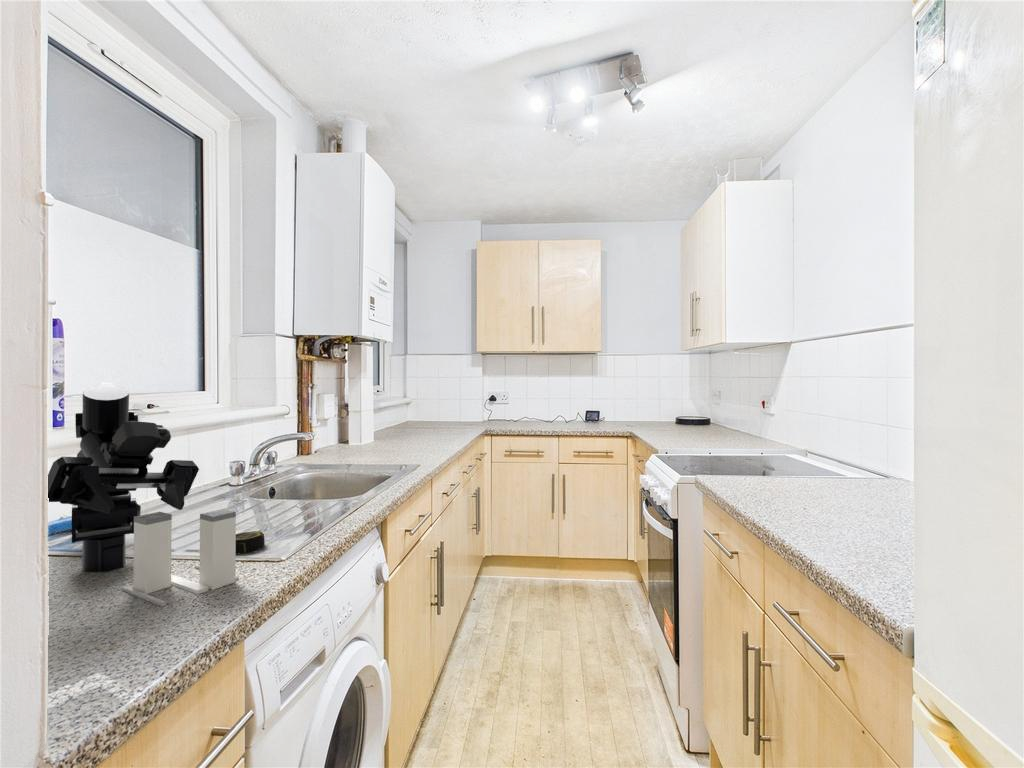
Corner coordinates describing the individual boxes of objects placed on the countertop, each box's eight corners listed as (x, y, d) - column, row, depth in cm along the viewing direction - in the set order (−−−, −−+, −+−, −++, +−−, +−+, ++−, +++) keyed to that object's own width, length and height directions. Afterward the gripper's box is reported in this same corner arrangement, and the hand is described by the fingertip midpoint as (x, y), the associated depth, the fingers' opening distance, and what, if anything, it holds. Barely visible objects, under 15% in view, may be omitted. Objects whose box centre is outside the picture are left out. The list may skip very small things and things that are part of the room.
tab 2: (199, 585, 76) (199, 513, 76) (222, 577, 79) (222, 509, 79) (212, 589, 74) (213, 516, 75) (235, 581, 78) (235, 511, 78)
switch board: (116, 594, 75) (116, 584, 75) (192, 571, 85) (192, 562, 85) (164, 614, 69) (165, 603, 69) (241, 586, 78) (241, 577, 78)
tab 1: (133, 589, 75) (133, 516, 75) (159, 581, 78) (159, 511, 78) (145, 594, 73) (145, 519, 73) (171, 586, 76) (171, 514, 76)
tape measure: (241, 548, 98) (241, 529, 98) (272, 549, 97) (272, 530, 97) (214, 560, 91) (214, 539, 91) (248, 561, 90) (248, 541, 90)
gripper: (57, 403, 71) (92, 457, 64) (191, 417, 87) (232, 462, 80) (28, 471, 72) (59, 532, 64) (166, 473, 88) (205, 522, 80)
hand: (148, 508), depth 72 cm, fingers open, 9 cm apart
